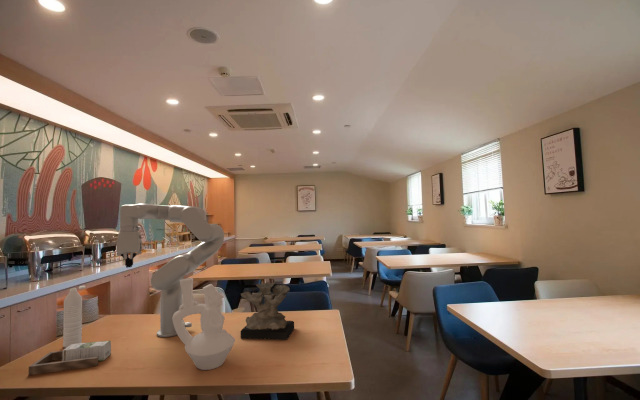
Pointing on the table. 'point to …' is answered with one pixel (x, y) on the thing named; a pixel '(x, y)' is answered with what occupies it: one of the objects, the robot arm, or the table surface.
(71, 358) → the syrup box
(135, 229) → the robot arm
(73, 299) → the water bottle
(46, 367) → the u rest
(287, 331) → the coral
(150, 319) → the table surface
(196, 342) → the white sculpture
